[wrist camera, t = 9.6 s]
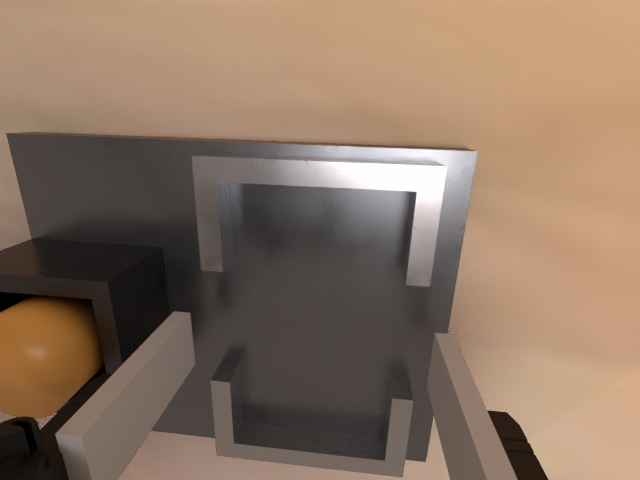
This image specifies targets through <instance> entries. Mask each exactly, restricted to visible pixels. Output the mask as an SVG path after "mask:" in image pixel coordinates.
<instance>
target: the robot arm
mask: <svg viewBox="0 0 640 480" xmlns="http://www.w3.org/2000/svg"><path fill="white" fill-rule="evenodd" d="M194 365H195V355H194V345H193V335H192V325H191V315H190V313H188V312H176V311H174V312H173V313H172V314H171V315H170V316H169V317H168V318H167V319H166V320H165V321H164V322H163V323H162V324H161V325H160V326H159V327H158V328H157V329H156V330H155V331H154V332H153V333H152V334H151V335H150V337H149V338H148V339H147V340H146V341H145V342H144V343H143V344H142V345H141V346H140V347H139V348H138V349H137V350H136V351H135V352H134V353H133V354H132V355H131V356H130V357H129V358H128V359H127V360H126V361H125V362H124V363H123V364H122V365H121V366H120V368H119V369H118V370H117V371H116V372H115V373H114V374H108V373H104V374H102V375H100V376H99V377H97V378H95V379H94V380H92V381H90V382H89V383H88V384H87V385H86V386H85V387H84V388H83V389H82V390H81V391H80V392H79V393H78V395H77V396H75V397H74V398H72V399H71V400H70V401H69V402H68V405H65V406H64V407H63V408H62V409H61V410H60V411H59V412H58V413H57V414H56V415H55V416H54V417H53V418H52V419H51V420H50V421H49V422H48V423H47V424H46V425H45V426H44V427H43V428H42V429H41V430H40V429H39V426H38V423H37V421H36V420H35V419H34V418H33V417H26V416H24V417H17V418H13V419H10V420H7V421H4V422H2V423H0V480H118V479H119V477H120V476H121V474H122V473H123V471H124V470H125V468H126V467H127V465H128V464H129V462H130V461H131V459H132V458H133V456H134V455H135V453H136V452H137V450H138V449H139V447H140V446H141V444H142V443H143V441H144V440H145V438H146V437H147V435H148V434H149V432H150V431H151V429H152V428H153V426H154V425H155V423H156V422H157V421H158V419H159V418H160V416H161V415H162V413H163V412H164V410H165V409H166V407H167V406H168V404H169V403H170V401H171V400H172V398H173V397H174V395H175V394H176V392H177V391H178V389H179V388H180V386H181V385H182V383H183V382H184V380H185V379H186V377H187V376H188V374H189V373H190V371H191V370H192V368H193V367H194ZM427 390H428V394H429V398H430V402H431V406H432V410H433V414H434V418H435V421H436V425H437V429H438V433H439V437H440V441H441V445H442V449H443V453H444V457H445V461H446V465H447V469H448V473H449V476H450V480H548V478H547V476H546V474H545V472H544V471H543V469H542V467H541V465H540V463H539V461H538V459H537V457H536V455H534V452H533V450H532V448H531V446H530V444H529V443H528V442H527V438H526V436H525V435H524V433H523V431H522V429H521V427H520V425H519V424H518V423H517V422H516V421H515V420H514V419H513V418H512V417H511V416H510V415H509V414H508V413H507V412H497V411H487V409H486V407H485V405H484V402H483V400H482V398H481V396H480V393H479V391H478V389H477V387H476V384H475V382H474V380H473V378H472V375H471V373H470V371H469V368H468V366H467V364H466V362H465V359H464V357H463V355H462V353H461V350H460V348H459V346H458V344H457V341H456V339H455V337H454V335H453V334H443V333H435V334H434V341H433V347H432V354H431V360H430V367H429V373H428V380H427Z"/></svg>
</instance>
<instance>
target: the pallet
mask: <svg viewBox="0 0 640 480" xmlns="http://www.w3.org/2000/svg"><path fill="white" fill-rule="evenodd" d="M6 134H7V138H8V142H9V146H10V150H11V155H12V159H13V163H14V167H15V171H16V175H17V179H18V183H19V187H20V192H21V196H22V200H23V204H24V208H25V212H26V216H27V220H28V224H29V229H30V233H31V237H32V239H31V240H28V241H26V242H23V243H20V244H17V245H15V246H12V247H9V248H6V249H4V250H1V251H0V312H2V311H4V310H6V309H8V308H10V307H12V306H13V305H15V304H17V303H19V302H21V301H23V300H25V299H26V298H28V297H30V296H32V295H34V294H35V295H47V296H59V297H72V298H84V299H92V303H93V308H94V313H95V318H96V323H97V328H98V333H99V338H100V343H101V348H102V353H103V358H104V363H105V365H104V366H103V367H102V368H101V369H100V370H99V371H98V372H97V373H96V374H95V375H94V376H93V377H92V378H91V379H90V380H89V381H88V382H87V383H86V384H85V385H84V386H83V387H82V388H80V389H79V390H78V391H77V392H76V393H75V394H74V395H73V396H72V397H71V398H70V399H69V400H68V401H67V402H66V403H65V404H64V405H63V406H62V407H61V408H60V409H59V410H57V411H56V412H57V413H58V412H59V411H60V410H61V409H62V408H63V407H64V406H65V405H68V402H69V401H70V400H71V399H72V398H74V397H75V396H77V395H78V393H79V392H80V391H81V390H82V389H83V388H84V387H85V386H86V385H87V384H88V383H89V382H90V381H92V380H94V379H95V378H97V377H99V376H100V375H102V374H104V373H108V374H114V373H115V372H116V371H117V370H118V369H119V368H120V366H121V365H122V364H123V363H124V362H125V361H126V360H127V359H128V358H129V357H130V356H131V355H132V354H133V353H134V352H135V351H136V350H137V349H138V348H139V347H140V346H141V345H142V344H143V343H144V342H145V341H146V340H147V339H148V338H149V337H150V335H151V334H152V333H153V332H154V331H155V330H156V329H157V328H158V327H159V326H160V325H161V324H162V323H163V322H164V321H165V320H166V319H167V318H168V317H169V316H170V315H171V314H172V313H173V312H174V311H176V312H188V313H190V315H191V325H192V335H193V345H194V355H195V365H194V367H193V368H192V370H191V371H190V373H189V374H188V376H187V377H186V379H185V380H184V382H183V383H182V385H181V386H180V388H179V389H178V391H177V392H176V394H175V395H174V397H173V398H172V400H171V401H170V403H169V404H168V406H167V407H166V409H165V410H164V412H163V413H162V415H161V416H160V418H159V419H158V421H157V422H156V423H155V425H154V426H153V428H152V429H151V431H159V432H168V433H176V434H185V435H194V436H203V437H212V438H215V440H216V452H217V456H226V457H234V458H243V459H251V460H260V461H268V462H277V463H285V464H293V465H302V466H310V467H319V468H327V469H336V470H344V471H353V472H361V473H370V474H378V475H387V476H395V477H403V471H404V464H405V460H414V461H423V462H426V457H427V451H428V445H429V439H430V433H431V427H432V421H433V415H434V414H433V410H432V406H431V402H430V398H429V394H428V390H427V380H428V373H429V367H430V360H431V354H432V347H433V341H434V334H435V333H443V334H447V332H448V326H449V320H450V314H451V308H452V302H453V296H454V290H455V284H456V278H457V272H458V267H459V261H460V255H461V249H462V243H463V237H464V231H465V225H466V219H467V213H468V207H469V201H470V195H471V189H472V183H473V177H474V171H475V165H476V160H477V154H478V151H475V150H471V149H464V148H438V147H411V146H385V145H358V144H331V143H305V142H278V141H252V140H225V139H198V138H172V137H145V136H119V135H92V134H65V133H39V132H30V133H6Z"/></svg>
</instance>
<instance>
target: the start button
mask: <svg viewBox="0 0 640 480" xmlns="http://www.w3.org/2000/svg"><path fill="white" fill-rule="evenodd" d="M104 365H105V363H104V358H103V353H102V348H101V343H100V338H99V333H98V328H97V323H96V318H95V313H94V308H93V303H92V299H84V298H72V297H59V296H47V295H35V294H34V295H32V296H30V297H28V298H26V299H25V300H23V301H21V302H19V303H17V304H15V305H13V306H12V307H10V308H8V309H6V310H4V311H2V312H0V410H1V411H3V412H5V413H7V414H10V415H13V416H17V417H24V416H26V417H33V418H34V419H36V418H43V417H47V416H49V415H51V414H53V413H55V412H56V411H57V410H59V409H60V408H61V407H62V406H63V405H64V404H65V403H66V402H67V401H68V400H69V399H70V398H71V397H72V396H73V395H74V394H75V393H76V392H77V391H78V390H79V389H80V388H82V387H83V386H84V385H85V384H86V383H87V382H88V381H89V380H90V379H91V378H92V377H93V376H94V375H95V374H96V373H97V372H98V371H99V370H100V369H101V368H102V367H103V366H104Z"/></svg>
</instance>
